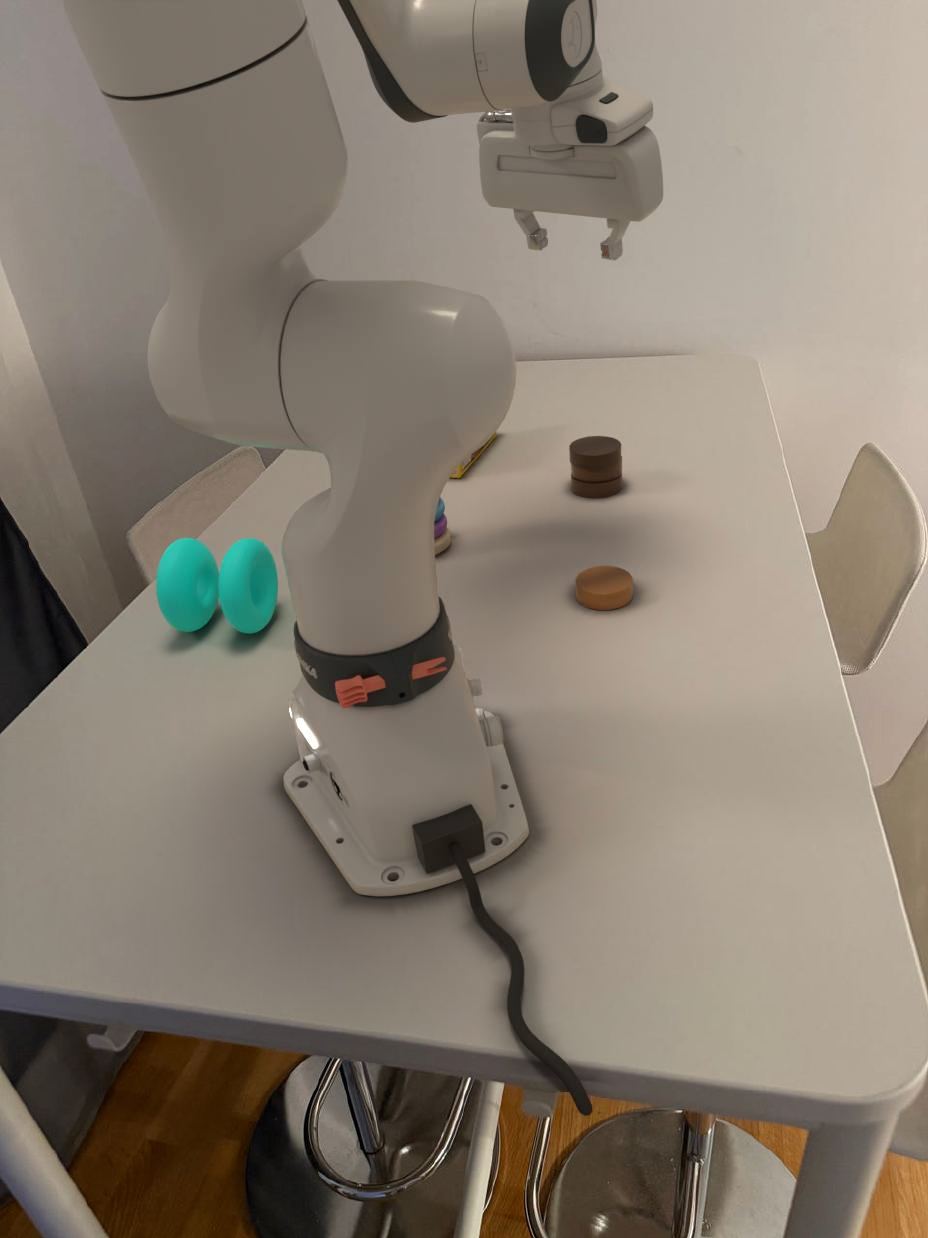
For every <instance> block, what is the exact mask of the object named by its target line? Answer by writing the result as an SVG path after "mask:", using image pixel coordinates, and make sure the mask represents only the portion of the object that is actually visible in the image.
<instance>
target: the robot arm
mask: <svg viewBox="0 0 928 1238" xmlns="http://www.w3.org/2000/svg"><path fill="white" fill-rule="evenodd" d="M336 1H337V3H338V5H339V6H340V8H341V11H342V12H343V14H344V16H345V18H346V20H347V22H348V24H349V26H350V27H351V29H352V32H353V33H354V36H355V37H356V39H357V42H358V43H359V45H360V47H361V49H362V52H363V55H364V59H365V62H366V66H367V69H368V72H369V76H370V78H371V81H372V84H373V87H374V89H375V91H376V92H377V94H378V96H379V97H380V98H381V101H383V103H384V104H385V105H386V106H387V107H388V108H389V109H390V110H391V111H392V112H393V113H394V114H395V115H397V117H399V118H400V119H402V120H403V121H405V122H407V123H412V124H415V123H420V122H425V121H430V120H431V121H432V120H435V119H441V118H446V117H448V116H453V115H454V116H455V115H465V114H477V113H483V114H482V115H481V116H480V117H479V120H478V121H477V124H476V132H477V138H478V144H479V147H478V148H479V149H478V163H479V179H480V186H481V194H482V197H483V199H484V200H485V202H486V203H487V204H488V206H489V207H492V208H499V209H509V210H513V216H514V220H515V221H516V223H517V224H518V226H519V227H520V229H521V230H522V232H523V233H524V235H525V237H526V243H527V248H528V249H529V250H531V251H532V250H533V251H543V249H546V247H548V245H549V239H548V237H547V236H548V230H547V228H544V227H541V225H540V224H539V222H538V220H537V218H536V216H535V214H534V213H535V212H538V213H539V212H540V213H549V214H560V215H570V216H579V217H588V218H597V219H606V226H607V228H608V229H610V230H611V232H610V235H609V236H608V237H607V238H606V239H604V240H602V241H601V242H600V244H599V245H600V251H601V255H600V256H601V259H603V260H609V261H617V260H618V259H619V258H621V257H622V256H623V253H624V252H623V251H624V249H623V238H624V236H625V233H626V232H627V230H628V228H629V225H630V223H631V222H636V223H638V222H642V221H644V220H646V219H647V218H648V217H649V216H651V215H652V214H653V213H654V212H656V211H657V209H658V208H659V207H660V205H661V203H662V202H663V200H664V176H663V165H662V158H661V157H662V156H661V151H660V145H659V142H658V139H657V136H656V135H655V133H654V131H653V130H652V129H651V128H649V126H646V125H648V123H650V122H651V121H652V119H653V117H654V104H653V101H652V99H651V98H650V96H648V95H645V94H643V93H641V92H639V91H636V90H633V89H630V88H629V87H627V86H624V85H621V84H619V83H617V82H615V81H613V80H612V79H610V78H608V77H606V76H604V74H603V64H602V60H601V56H600V53H599V51H598V47H597V43H596V26H597V19H598V3H597V2H598V1H597V0H336ZM61 2H62V5H63V8H64V10H65V13H66V15H67V18H68V20H69V23H70V26H71V27H72V30H73V33H74V35H75V37H76V40H77V42H78V44H79V47H80V49H81V51H82V54H83V56H84V58H85V60H86V63H87V66H88V67H89V69H90V72H91V73H92V75H93V78H94V80H95V82H96V84H97V86H98V88H99V90H100V92H101V95H102V97H103V99H104V101H105V103H106V105H107V107H108V109H109V111H110V114H111V116H112V118H113V120H114V122H115V124H116V126H117V128H118V131H119V132H120V135H121V137H122V140H123V141H124V144H125V145H126V148H127V150H128V153H129V154H130V157H131V159H132V161H133V163H134V165H135V168H136V170H137V172H138V175H139V177H140V178H141V181H142V184H143V186H144V188H145V190H146V193H147V195H148V197H149V200H150V203H151V205H152V206H153V210H154V212H155V214H156V216H157V219H158V222H159V224H160V227H161V231H162V234H163V237H164V241H165V244H166V245H165V246H166V249H167V255H168V261H169V268H170V269H169V270H170V271H169V272H170V289H169V296H168V298H167V300H166V302H165V304H164V305H163V306H162V308H161V309H160V310H159V312H158V314H157V315H156V317H155V320H154V322H153V325H152V328H151V331H150V334H149V337H148V344H147V369H148V375H149V380H150V383H151V387H152V389H153V392H154V394H155V397H156V398H157V401H158V403H159V404H160V406H161V408H162V409H163V411H164V412H165V413H166V415H167V416H168V417H169V418H170V419H171V420H172V421H173V422H174V423H175V424H176V425H179V426H180V427H182V428H184V429H186V430H188V431H192V432H194V433H198V434H200V435H204V436H207V437H210V438H212V439H216V440H218V441H223V442H226V443H229V444H233V445H236V446H239V447H240V446H241V447H249V448H260V449H262V448H263V449H275V450H287V451H288V450H289V451H301V452H313V453H319V454H323V456H324V457H325V460H326V462H327V464H328V467H329V473H330V488H329V487H328V488H327V489H325V490H324V491H321V492H319V493H318V494H316V495H315V496H313V497H312V498H309V500H307V501H305V502H304V503H303V504H302V505H301V506H300V507H299V508H298V509H297V510H296V511H295V512H294V513H293V515H292V516H291V518H290V519H289V521H288V522H287V525H286V528H285V530H284V533H283V536H282V540H281V547H280V553H281V557H282V561H283V565H284V571H285V575H286V580H287V585H288V588H289V594H290V598H291V602H292V606H293V610H294V615H295V621H294V625H293V636H294V641H293V642H294V644H293V645H294V651H295V655H296V658H297V660H298V662H299V667H300V671H301V673H302V675H301V677H300V679H299V681H298V683H297V685H296V686H295V687H294V689H293V690H292V692H291V694H290V695H289V697H288V703H289V714H290V717H291V720H292V724H293V729H294V733H295V738H296V742H297V743H296V744H297V748H298V753H299V759H297V760H296V761H295V762H294V763H293V764H292V765H291V766H290V767H288V768H287V770H286V771H285V772H284V774H283V776H282V780H283V789H284V790H285V792H286V794H287V795H288V797H289V798H290V800H291V801H292V803H293V804H294V806H295V807H296V808H297V810H298V811H299V813H300V814H301V816H302V817H303V819H304V820H305V821H306V823H307V825H308V826H309V828H310V829H311V831H312V833H314V835H315V836H316V838H317V839H318V841H319V842H320V844H321V845H322V847H323V849H324V850H325V851H326V853H327V855H329V857H330V858H331V860H332V862H333V863H334V865H335V866H336V868H337V870H338V871H339V872H340V874H341V875H342V877H343V878H344V879H345V881H346V882H347V884H348V885H349V887H350V888H351V889H352V890H353V891H354V893H356V894H358V895H362V896H368V897H369V896H370V897H394V896H403V895H409V894H414V893H419V892H424V891H428V890H431V889H435V888H438V887H441V886H445V885H448V884H451V883H454V882H457V881H459V880H461V879H462V881H463V883H464V886H465V889H466V891H467V896H468V899H469V900H468V901H469V904H470V907H471V910H472V912H473V914H474V916H475V918H476V920H477V921H478V923H479V924H480V925H481V926H482V928H483V929H484V930H485V931H486V933H488V935H489V936H491V937H492V938H493V939H494V940H495V941H497V942H498V944H500V945H501V946H502V948H503V949H504V950H505V952H506V954H507V955H508V958H509V962H510V979H509V984H508V989H507V990H508V991H507V997H506V1000H507V1001H506V1007H507V1008H506V1009H507V1015H508V1019H509V1022H510V1025H511V1027H512V1029H513V1031H514V1033H515V1035H516V1037H517V1038H518V1040H519V1041H520V1042H521V1044H522V1045H523V1046H524V1047H525V1048H526V1049H527V1050H528V1052H530V1053H531V1054H532V1055H533V1056H534V1057H536V1058H537V1059H538V1060H539V1061H541V1062H542V1063H543V1064H544V1065H545V1066H547V1067H548V1068H549V1069H550V1070H551V1071H552V1072H553V1073H554V1074H555V1075H556V1076H557V1077H558V1078H559V1079H560V1080H561V1082H562V1083H563V1085H564V1087H566V1089H567V1091H568V1092H569V1095H570V1096H571V1098H572V1101H573V1103H574V1105H575V1107H576V1109H577V1111H578V1112H579V1113H580V1114H581V1115H582V1116H585V1117H586V1116H590V1115H592V1113H593V1111H594V1110H593V1104H592V1102H591V1100H590V1097H589V1095H588V1093H587V1091H586V1089H585V1087H584V1085H583V1083H582V1082H581V1080H580V1079H579V1077H578V1075H577V1074H576V1072H575V1071H574V1070H573V1068H572V1067H571V1066H570V1065H569V1064H568V1063H567V1062H566V1061H565V1060H564V1059H563V1058H562V1057H561V1056H560V1055H559V1054H558V1053H556V1052H555V1051H554V1050H553V1049H552V1048H550V1047H549V1045H546V1043H544V1042H543V1041H542V1040H540V1039H539V1038H538V1037H537V1036H536V1035H535V1034H534V1032H533V1031H532V1030H531V1029H530V1028H529V1027H528V1025H527V1024H526V1021H525V1019H524V1015H523V1013H522V1012H523V1011H522V992H523V987H524V980H525V963H524V958H523V954H522V952H521V950H520V948H519V945H518V944H517V942H516V941H515V939H514V938H513V937H512V936H511V935H510V934H509V933H508V932H507V931H506V930H505V929H504V928H503V927H502V926H500V925H499V924H498V923H497V922H496V921H495V920H494V919H493V918H492V917H491V915H490V914H489V912H488V911H487V909H486V908H485V905H484V903H483V900H482V899H483V898H482V895H481V890H480V886H479V884H478V881H477V878H476V876H475V874H476V873H479V872H481V871H484V870H487V869H488V868H490V867H492V866H493V865H496V864H497V863H499V862H501V861H503V860H504V859H505V858H507V857H508V856H509V855H511V854H512V853H514V852H515V851H516V850H517V849H518V848H519V847H521V845H522V844H523V843H524V842H525V841H526V840H527V838H529V835H530V828H529V827H530V826H529V822H528V819H527V815H526V813H525V809H524V805H523V802H522V799H521V796H520V793H519V790H518V786H517V783H516V780H515V776H514V774H513V771H512V767H511V765H510V761H509V758H508V754H507V752H506V749H505V745H504V732H503V727H502V723H501V720H500V717H499V716H497V715H494V714H493V712H490V711H488V710H484V709H483V707H477V708H476V706H475V705H476V704H475V702H474V699H473V698H474V697H478V696H481V695H483V689H482V683H481V680H480V678H473V679H469V678H468V677H467V673H466V670H465V660H464V651H463V650H464V649H463V648H461V647H459V646H458V645H456V644H454V642H453V638H452V636H453V633H452V627H451V623H450V620H449V616H448V614H447V611H446V606H445V604H444V603H445V602H444V601H443V599H442V598H441V597H440V596H439V595H440V594H439V587H438V577H437V567H436V565H437V564H436V555H435V547H434V520H435V514H436V509H437V505H438V502H439V499H440V498H441V496H442V493H443V491H444V488H445V486H446V484H447V483H448V481H449V480H450V479H451V478H450V476H451V475H452V474H453V472H454V471H455V470H456V468H457V467H458V466H459V465H460V464H461V463H462V462H463V461H464V460H465V459H466V458H467V457H469V456H470V455H471V454H472V453H474V452H475V451H476V450H478V449H479V448H481V447H482V446H483V445H484V444H485V443H486V442H487V441H488V440H489V439H490V438H491V437H492V436H493V434H494V433H495V432H496V433H497V431H498V430H499V428H500V427H501V426H502V423H503V422H504V420H505V419H506V417H507V415H508V412H509V410H510V407H511V406H512V405H511V404H512V401H513V398H514V393H515V390H516V382H517V361H516V353H515V349H514V344H513V341H512V338H511V334H510V333H509V330H508V328H507V326H506V324H505V322H504V320H503V318H502V317H501V316H500V314H499V313H498V311H497V309H496V308H495V307H494V306H493V304H492V303H491V302H490V301H489V300H488V299H486V297H484V296H482V295H480V294H477V293H472V292H468V291H464V290H460V289H456V288H452V287H448V286H444V285H441V284H436V283H435V284H434V283H429V282H425V281H420V280H416V279H415V280H414V279H412V280H410V279H409V280H405V279H404V280H402V279H401V280H396V279H395V280H388V279H387V280H385V279H383V280H381V279H380V280H377V279H376V280H328V279H325V278H324V279H322V278H319V277H317V276H316V274H315V273H313V271H312V269H310V267H309V265H308V262H307V260H306V259H305V254H304V250H303V249H304V248H303V244H304V243H305V242H307V241H308V240H309V239H310V238H312V237H313V236H314V235H315V234H316V233H317V232H318V231H319V230H320V229H321V228H323V227H324V225H325V224H326V223H327V222H328V221H329V220H330V219H331V217H332V216H333V214H334V213H335V211H336V210H337V208H338V207H339V205H340V202H341V200H342V198H343V195H344V191H345V187H346V184H347V177H348V167H349V156H348V154H349V153H348V149H347V146H346V142H345V139H344V135H343V132H342V129H341V125H340V123H339V119H338V115H337V112H336V110H335V106H334V102H333V99H332V95H331V92H330V89H329V85H328V82H327V79H326V76H325V72H324V68H323V66H322V63H321V62H322V61H321V59H320V56H319V53H318V49H317V46H316V43H315V40H314V36H313V33H312V29H311V26H310V23H309V20H308V16H307V15H306V10H305V7H304V3H303V1H302V0H61Z"/></svg>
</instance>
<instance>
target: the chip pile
mask: <svg viewBox="0 0 928 1238" xmlns="http://www.w3.org/2000/svg"><path fill="white" fill-rule="evenodd" d="M568 447H569V448H568V450H569V453H568V454H569V463H570V488H571V491H572V492H573V494H575V495H577V496H579V497H583V498H588V499H599V498H600V499H601V498H607V497H610V496H611V497H612V496H613V495H616V494H618V493H619V492H621V490H622V489H623V488H622V487H623V456H622V443H621V441H620V440H619V439H617V438H615V437H612V436H606V435H592V436H591V435H589V436H585V437H580V438H577V439H575V440H573V441H572V442H570V444H569V446H568Z"/></svg>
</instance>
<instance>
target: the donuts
mask: <svg viewBox="0 0 928 1238" xmlns="http://www.w3.org/2000/svg"><path fill="white" fill-rule="evenodd" d="M155 590H156V599H157V602H158V606H159V609H160V612H161V615H162V616H163V618H164V619H165V621H166V622H167V623H168V624H169V626H171V627H172V628H174V629H175V630H177V631H180V632H183V633H192V632H196V631H198V630H200V629H202V628H203V627H205V626H206V625H207V624H208V623H209V621H210V619H212V617H213V615H214V614H215V612H216V609H217V606H218V602H219V604H220V607H221V611H222V613H223V616H224V618H225V619H226V621H227V622H228V623H229V625H230V626H232V628H234V630H236V631H238V632H240V633H243V634H255V633H258V632H260V631H262V630H263V629H265V627H266V626H267V625H268V624H269V623H270V621H271V619H272V617H273V615H274V613H275V609H276V606H277V601H278V593H279V577H278V570H277V565H276V562H275V559H274V556H273V554H272V552H271V550H270V549H269V548H268V546H267V545H266V544H265V543H264V542H263V541H261V540H260V539H257V538H253V537H244V538H241V539H239V540H238V541H236V542H234V543H233V544H232V545H231V546H230V547H229V548H228V550H227V551H226V552H225V554H224V557H223V558H222V561H221V564H220V566H219V567H218V564H217V561H216V558H215V557H214V555H213V553H212V552H211V550H210V549H209V548H208V546H207V545H205V544H204V543H203V542H202V541H201V540H198V539H196V538H192V537H182V538H179V539H176V540H175V541H172V542H171V544H170V545H168V547H167V548H166V549H165V550H164V552H163V554H162V555H161V558H160V560H159V563H158V567H157V571H156V581H155Z"/></svg>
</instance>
